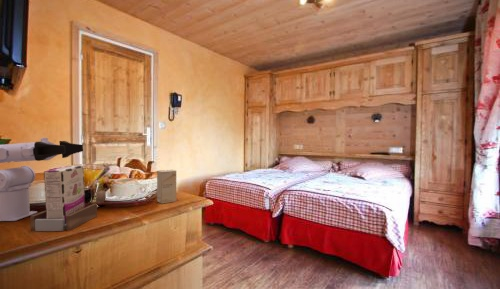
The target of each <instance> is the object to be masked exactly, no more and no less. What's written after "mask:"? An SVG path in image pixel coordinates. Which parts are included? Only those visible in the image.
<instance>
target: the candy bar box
mask: <svg viewBox="0 0 500 289" xmlns="http://www.w3.org/2000/svg"><path fill="white" fill-rule="evenodd" d="M84 171H85V170H84V165H82V164H79V165H75V164H74V165H72V164H71V165H66V166H60V167H57V168H54V169H48V170H44V171H43V178H44V179H43V182H44V196H45V210H46V218H47V219H65V224H66V216H67V215H70V214H72V213H74V212H76V211H79V210H81V209H83V208H85V207H86V201H85V200H86V198H85V196H86V194H85V179H84V178H85V176H84V175H85V173H84Z"/></svg>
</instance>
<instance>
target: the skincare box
mask: <svg viewBox="0 0 500 289" xmlns="http://www.w3.org/2000/svg"><path fill="white" fill-rule="evenodd" d="M156 173H157V174H156V176H157V177H156V181H157V184H156V185H157V186H156V191H157V192H156V200H157V202H158V203H160V204H168V203H174V202H177V170H175V169H165V170H157V171H156Z"/></svg>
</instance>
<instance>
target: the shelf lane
mask: <svg viewBox="0 0 500 289" xmlns="http://www.w3.org/2000/svg"><path fill="white" fill-rule="evenodd" d="M96 217H98V207H97V204H96V203H92V204H90V205H87V206H85V208H83V209H81V210H79V211H76V212H74V213H72V214H70V215H67V216H66V228H67V229H66V231H67V232H68V231H72V230H74V229H76V228H78V227H79V226H81V225H83V224H86V223H87V222H88V221H91V220H92V219H94V218H96ZM36 219H47V218H46V209H45V210H42V211H40V212H37V213H35V214H33V215H30V231H31V232H33V231H35V220H36ZM35 232H36V231H35Z"/></svg>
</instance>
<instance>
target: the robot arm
mask: <svg viewBox="0 0 500 289" xmlns="http://www.w3.org/2000/svg"><path fill="white" fill-rule="evenodd" d="M82 152H84V145H83V144H78V143H71V142H69V141H67V140H59V144H57V143H53V142H51V141H49V138H47V137H41V138H40V141H35V142H34V141H33V142H18V143H11V144H9V143H6V144H0V164H3V163H11V162H13V163H19V162H35V161H37V162H40V161H50V160H52V159H54V158H55V157H57V156H58V155H61V157H62V159H65V158H68V157H70V156H72V155H74V154H78V153H82ZM35 179H36V172H35V171H34V169H33V168H32V167H31V166H29V165H28V166H27V165H23V166H18V167H11V168H5V169H4V168H3V169H0V222H16V221H18V220H22V219H23V218H24V219H25V218H27V217H29V216H32V215H35V214H37V213H38V211H37V210H36V211H35V210H31V208H30V204H31V203H30V188H31V186H32V185H31V184H32V183H33V182H34V181H35Z"/></svg>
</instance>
